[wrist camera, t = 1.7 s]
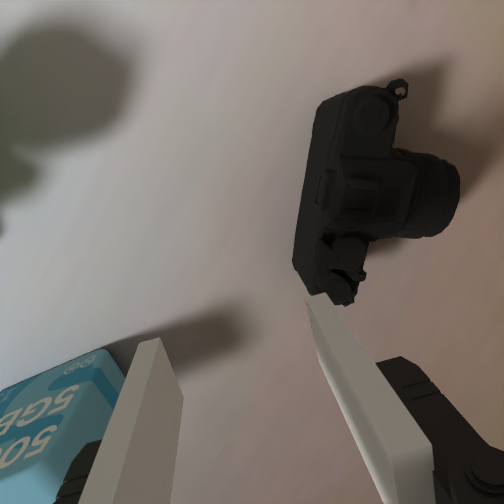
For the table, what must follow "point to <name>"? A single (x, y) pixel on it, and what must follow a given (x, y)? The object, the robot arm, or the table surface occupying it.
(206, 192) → the table surface
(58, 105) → the table surface
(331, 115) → the film camera
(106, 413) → the data package
